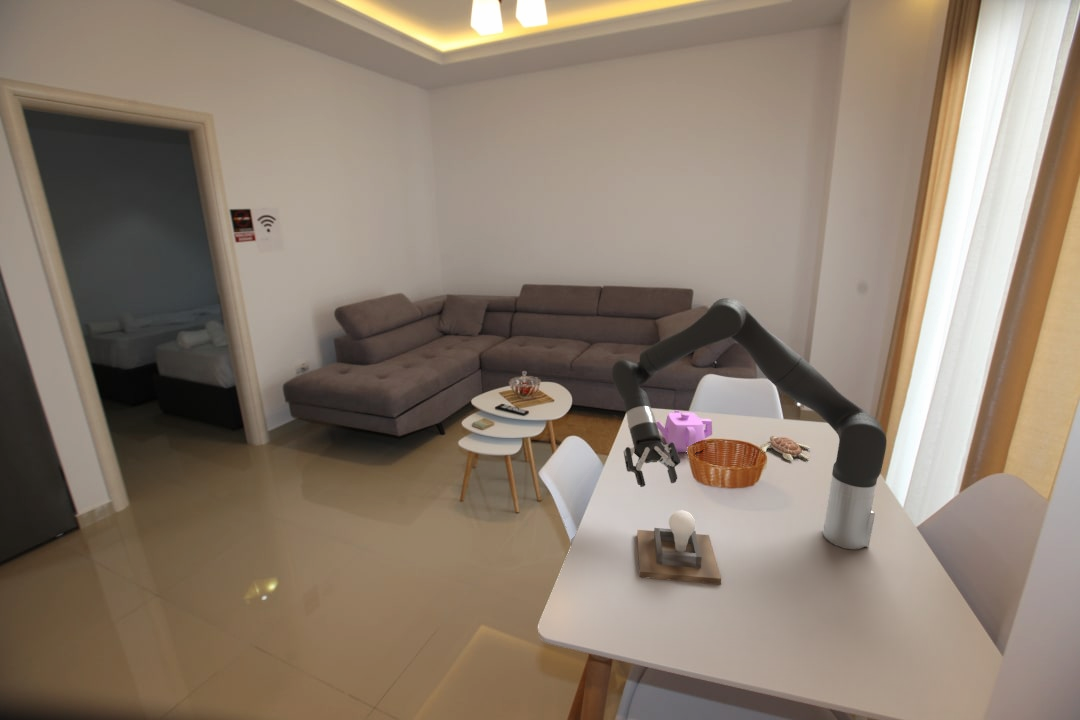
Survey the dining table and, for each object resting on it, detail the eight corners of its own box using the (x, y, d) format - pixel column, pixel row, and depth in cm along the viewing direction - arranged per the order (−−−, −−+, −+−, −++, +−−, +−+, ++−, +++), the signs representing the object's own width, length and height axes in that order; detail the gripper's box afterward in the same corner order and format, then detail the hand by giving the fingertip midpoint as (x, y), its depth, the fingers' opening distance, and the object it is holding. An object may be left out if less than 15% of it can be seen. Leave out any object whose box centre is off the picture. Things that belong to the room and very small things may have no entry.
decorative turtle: (793, 440, 180) (794, 427, 178) (824, 460, 164) (826, 447, 163) (747, 444, 178) (748, 431, 176) (774, 465, 162) (776, 451, 160)
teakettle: (693, 459, 166) (695, 426, 163) (650, 445, 178) (652, 414, 174) (715, 443, 178) (718, 412, 174) (674, 431, 189) (676, 401, 186)
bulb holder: (708, 540, 124) (709, 524, 123) (721, 584, 109) (722, 567, 108) (637, 534, 127) (637, 519, 126) (639, 577, 112) (640, 560, 110)
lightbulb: (694, 561, 114) (697, 521, 111) (668, 558, 115) (670, 518, 112) (692, 545, 120) (695, 506, 117) (666, 542, 121) (669, 504, 118)
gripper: (621, 423, 128) (636, 483, 120) (671, 418, 131) (689, 477, 123) (614, 433, 135) (628, 491, 127) (662, 428, 137) (678, 485, 129)
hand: (658, 484), depth 125 cm, fingers open, 8 cm apart
